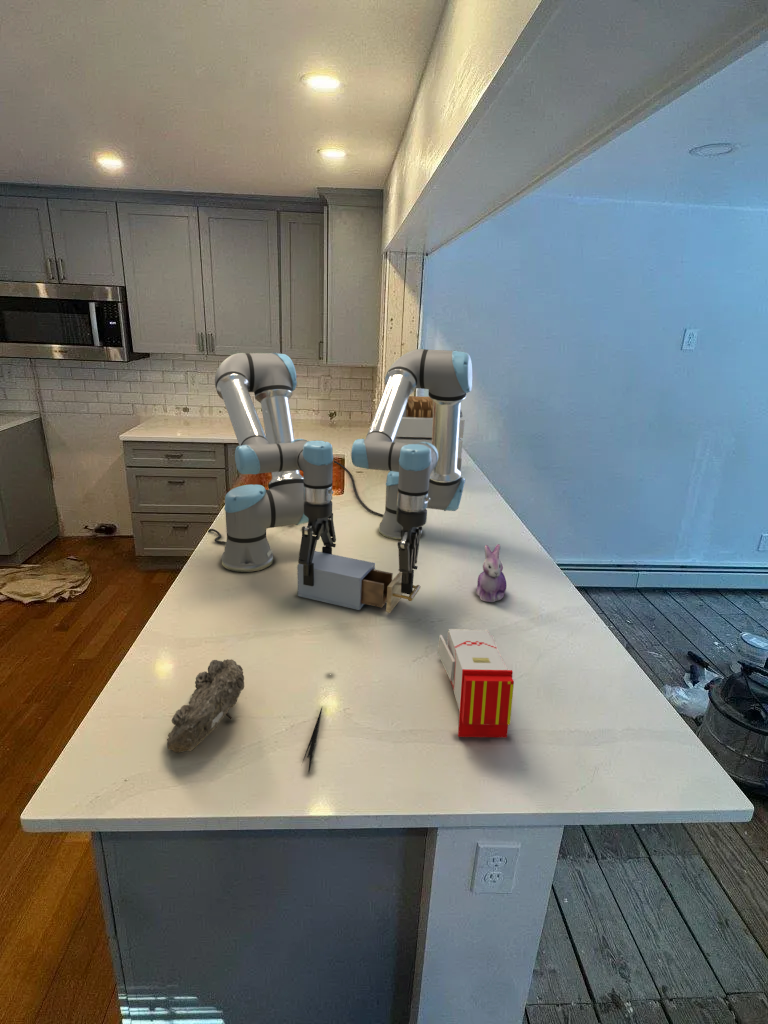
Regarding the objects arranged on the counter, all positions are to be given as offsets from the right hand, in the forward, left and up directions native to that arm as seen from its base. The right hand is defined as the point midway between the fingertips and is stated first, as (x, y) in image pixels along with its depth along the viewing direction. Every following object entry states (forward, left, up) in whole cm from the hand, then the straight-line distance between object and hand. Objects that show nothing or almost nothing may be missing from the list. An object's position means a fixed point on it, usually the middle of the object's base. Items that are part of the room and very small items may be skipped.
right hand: (406, 592), depth 148 cm
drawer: (-7, -4, -4) cm, 9 cm away
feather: (+21, -42, -5) cm, 47 cm away
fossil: (+8, -58, -5) cm, 58 cm away
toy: (+33, -12, -5) cm, 36 cm away
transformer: (-93, +95, -5) cm, 134 cm away
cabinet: (-17, -10, -5) cm, 21 cm away
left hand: (-22, -13, -1) cm, 26 cm away
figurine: (+8, +25, -5) cm, 27 cm away
